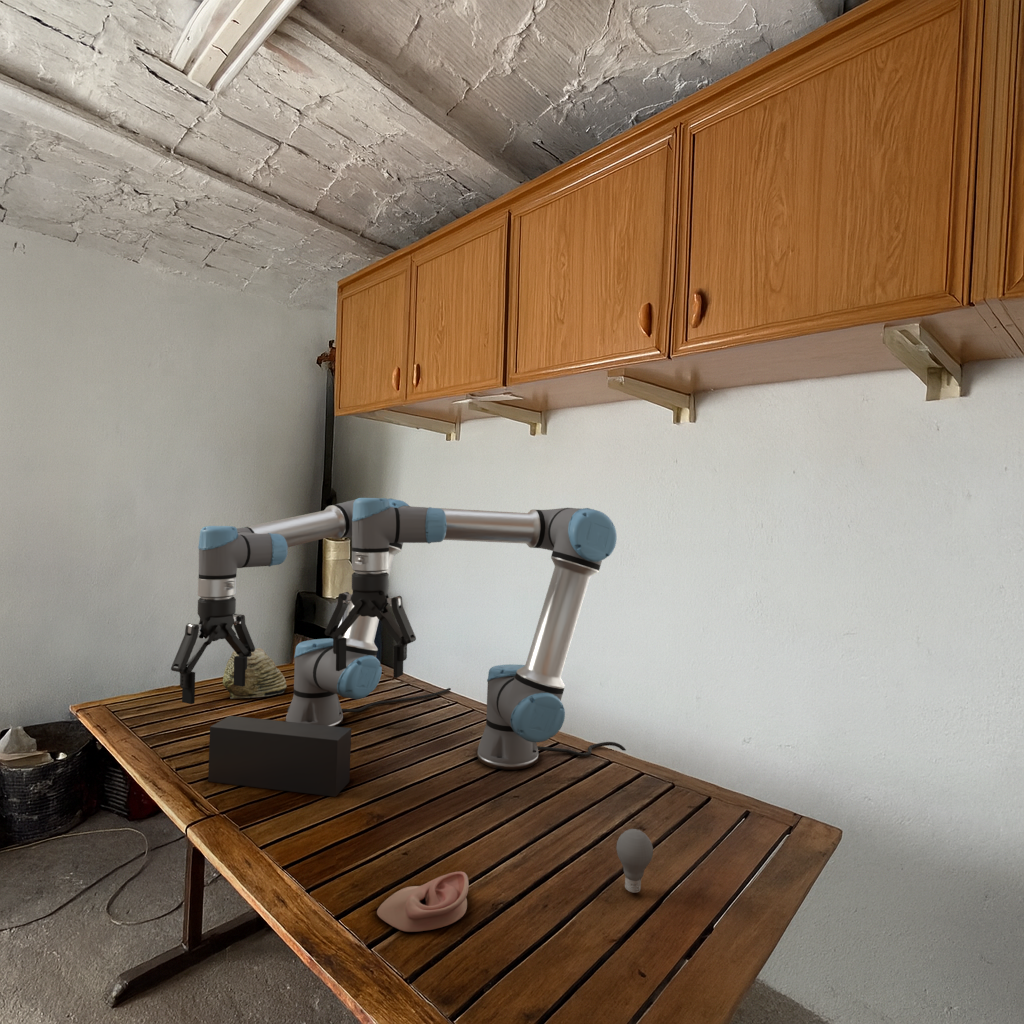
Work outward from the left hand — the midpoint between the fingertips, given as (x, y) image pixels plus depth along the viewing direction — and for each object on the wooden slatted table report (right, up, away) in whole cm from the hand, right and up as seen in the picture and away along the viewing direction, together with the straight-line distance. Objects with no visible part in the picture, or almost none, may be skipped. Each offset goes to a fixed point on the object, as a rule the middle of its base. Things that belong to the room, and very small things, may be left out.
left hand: (214, 693), depth 138 cm
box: (+14, -20, +2) cm, 24 cm away
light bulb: (+85, -24, -33) cm, 94 cm away
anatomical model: (+51, -22, -40) cm, 68 cm away
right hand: (+35, +6, -6) cm, 36 cm away
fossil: (-16, -18, +60) cm, 64 cm away
